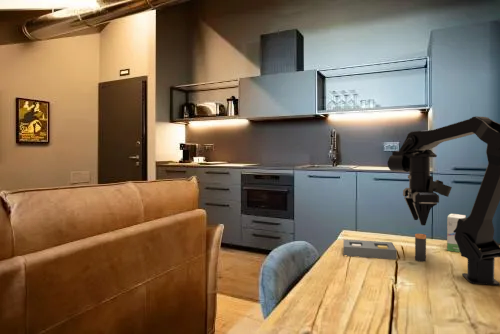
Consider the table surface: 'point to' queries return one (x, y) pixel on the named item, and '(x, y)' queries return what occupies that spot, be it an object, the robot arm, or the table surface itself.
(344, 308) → the table surface
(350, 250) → the port block
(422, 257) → the plug
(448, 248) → the ink box
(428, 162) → the robot arm
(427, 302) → the table surface
